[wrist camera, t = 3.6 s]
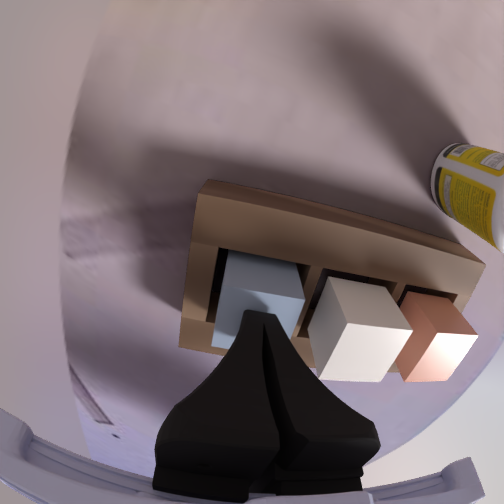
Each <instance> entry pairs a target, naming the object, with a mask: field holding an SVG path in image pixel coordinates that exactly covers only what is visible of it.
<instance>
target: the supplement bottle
mask: <svg viewBox="0 0 504 504" xmlns="http://www.w3.org/2000/svg"><path fill="white" fill-rule="evenodd" d="M431 191H432V195H433V198H434V201H435V203H436V204H437V206H438V207H439V208H440V210H441V211H442V212H444V213H445V214H446V215H448V216H449V217H451V218H453V219H454V220H456V221H457V222H459V223H460V224H462V225H463V226H465V227H466V228H468V229H469V230H471V231H472V232H474V233H475V234H477V235H478V236H480V237H481V238H482V239H484V240H485V241H487V242H488V243H490V244H491V245H492V246H494V247H495V248H496V249H498V250H499V251H500V252H502V253H504V153H500V152H497V151H493V150H489V149H486V148H482V147H478V146H474V145H469V144H465V143H454V144H451V145H449V146H448V147H446V148H445V149H444V150H443V151H442V152H441V153H440V154H439V156H438V157H437V159H436V161H435V164H434V167H433V170H432V175H431Z"/></svg>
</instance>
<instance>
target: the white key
mask: <svg viewBox="0 0 504 504" xmlns="http://www.w3.org/2000/svg"><path fill="white" fill-rule="evenodd" d="M412 332H413V329H412V328H411V326H410V325H409V323H408V321H407V320H406V318H405V317H404V315H403V313H402V312H401V310H400V309H399V307H398V306H397V304H396V303H395V301H394V299H393V298H392V296H391V295H390V293H389V292H388V290H387V289H386V287H382V286H377V285H372V284H366V283H361V282H355V281H350V280H345V279H339V278H334V277H329V276H328V278H327V281H326V284H325V286H324V289H323V292H322V294H321V297H320V299H319V302H318V304H317V307H316V309H315V312H314V314H313V317H312V319H311V322H310V324H309V326H308V334H309V338H310V343H311V347H312V352H313V356H314V361H315V366H316V370H317V375H318V379H322V380H338V381H359V382H380V381H381V380H382V378H383V377H384V375H385V374H386V373H387V371H388V370H389V368H390V367H391V365H392V364H393V362H394V361H395V359H396V358H397V356H398V354H399V353H400V351H401V350H402V348H403V346H404V345H405V343H406V342H407V340H408V338H409V337H410V335H411V333H412Z"/></svg>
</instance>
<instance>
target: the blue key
mask: <svg viewBox="0 0 504 504" xmlns="http://www.w3.org/2000/svg"><path fill="white" fill-rule="evenodd" d="M304 302H305V297H304V293H303V289H302V285H301V281H300V277H299V274H298V270H297V266H296V262H291V261H286V260H281V259H276V258H271V257H266V256H261V255H256V254H251V253H245V252H240V251H235V250H230V249H229V251H228V256H227V261H226V266H225V271H224V276H223V281H222V286H221V292H220V297H219V302H218V308H217V314H216V320H215V326H214V332H213V338H212V344H211V346H214V347H219V348H225V349H229V348H230V347H231V345H232V343H233V342H234V340H235V338H236V336H237V333H238V331H239V328H240V324H241V320H242V316H243V312H244V311H245V310H247V309H249V310H254V311H260V312H266V313H272V314H276V315H277V317H278V319H279V321H280V323H281V325H282V327H283V328H284V330H285V332H286V334H287V336H288V337H289V339H291V336H292V334H293V331H294V328H295V326H296V323H297V321H298V318H299V315H300V313H301V310H302V307H303V305H304Z"/></svg>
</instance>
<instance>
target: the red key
mask: <svg viewBox="0 0 504 504" xmlns="http://www.w3.org/2000/svg"><path fill="white" fill-rule="evenodd" d="M399 309H400V310H401V312H402V313H403V315H404V317H405V318H406V320H407V321H408V323H409V325H410V326H411V328H412V329H413V332H412V333H411V335H410V337H409V338H408V340H407V342H406V343H405V345H404V346H403V348H402V350H401V351H400V353H399V354H398V356H397V358H396V359H395V363H396V365H397V367H398V370H399V372H400V374H401V376H402V378H403V381H404V382H425V381H446V380H447V379H448V378H449V377H450V375H451V374H452V373H453V371H454V370H455V369H456V367H457V366H458V365H459V363H460V362H461V360H462V359H463V358H464V356H465V355H466V353H467V352H468V350H469V349H470V347H471V346H472V344H473V343H474V341H475V340H476V338H477V337H478V334H477V333H476V332H475V331H474V329H473V328H472V327H471V325H470V324H469V323H468V322H467V320H466V319H465V318H464V317H463V316H462V314H461V313H460V312H459V311H458V309H457V308H456V307H455V306H454V305H453V303H452V302H451V301H450V300H449V299H448V298H443V297H438V296H432V295H427V294H421V293H415V292H410V291H408V292H407V294H406V296H405V298H404V300H403V302H402V304H401V306H400V308H399Z"/></svg>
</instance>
